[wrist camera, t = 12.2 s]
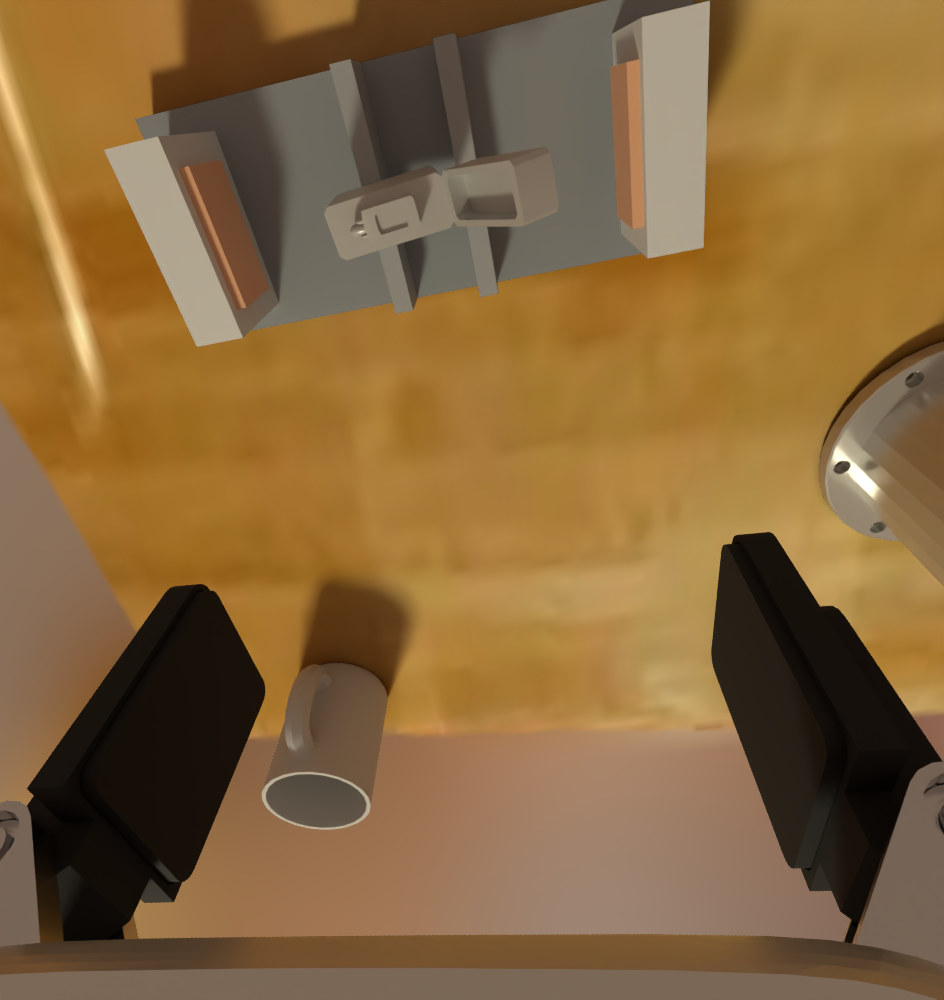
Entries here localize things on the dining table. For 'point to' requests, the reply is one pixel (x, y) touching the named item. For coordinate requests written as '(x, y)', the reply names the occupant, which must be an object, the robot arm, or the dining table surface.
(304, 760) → the cup
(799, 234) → the dining table surface
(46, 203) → the dining table surface
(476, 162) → the lighter
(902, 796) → the robot arm
